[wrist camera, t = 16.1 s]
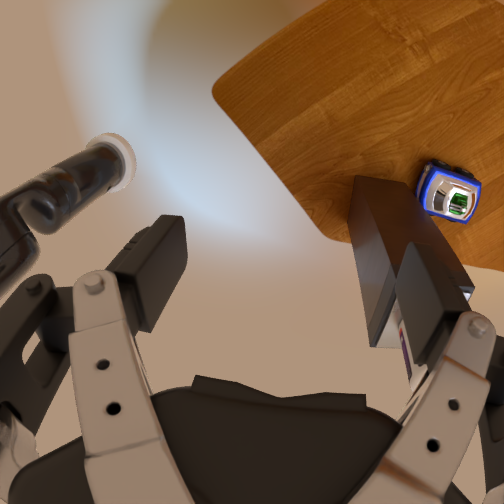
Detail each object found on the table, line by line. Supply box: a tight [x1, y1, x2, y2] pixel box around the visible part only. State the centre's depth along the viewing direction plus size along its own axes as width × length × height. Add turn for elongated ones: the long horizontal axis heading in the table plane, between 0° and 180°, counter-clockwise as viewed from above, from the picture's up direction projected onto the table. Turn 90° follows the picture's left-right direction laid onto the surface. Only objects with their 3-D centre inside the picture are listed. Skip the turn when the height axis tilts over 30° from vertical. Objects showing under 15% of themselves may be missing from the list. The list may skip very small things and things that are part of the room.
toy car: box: [415, 159, 481, 224], centre depth 42 cm, size 9×12×10 cm
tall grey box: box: [347, 175, 475, 349], centre depth 38 cm, size 9×9×28 cm
